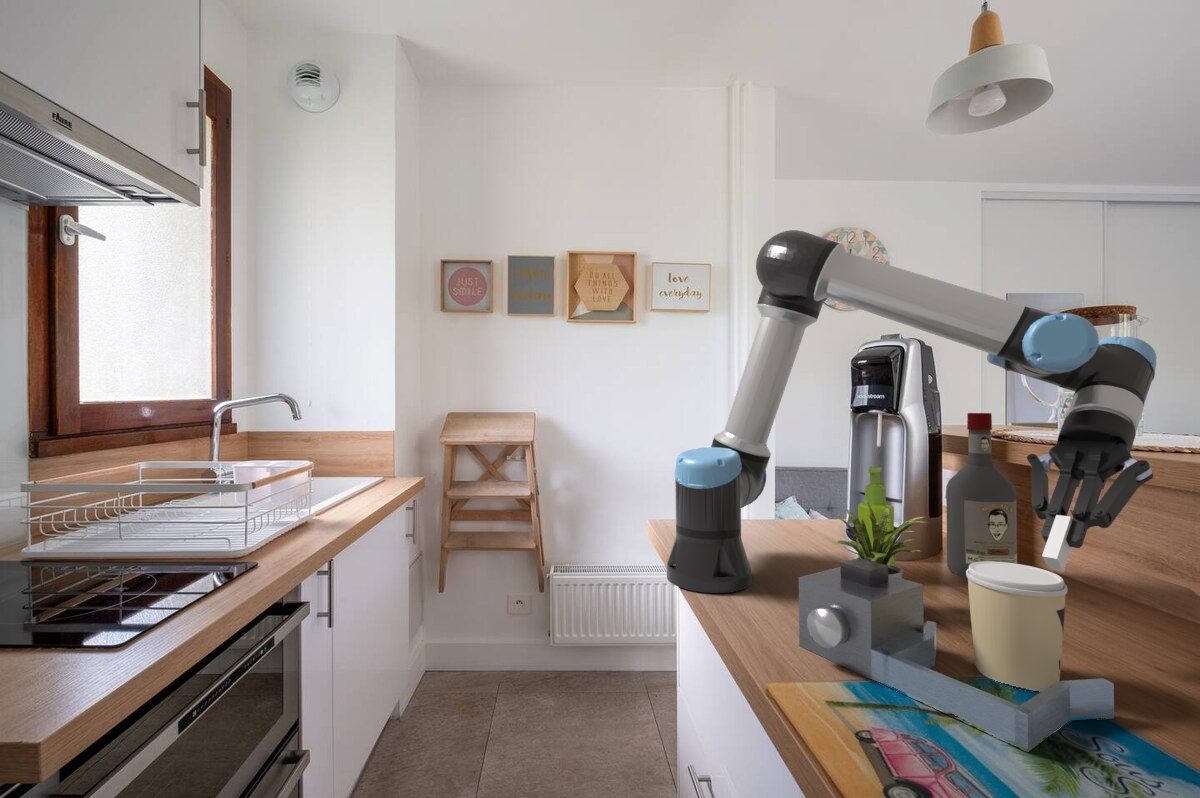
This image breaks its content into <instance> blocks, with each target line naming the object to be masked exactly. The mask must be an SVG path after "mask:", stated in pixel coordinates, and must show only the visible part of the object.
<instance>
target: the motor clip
mask: <svg viewBox="0 0 1200 798" xmlns="http://www.w3.org/2000/svg"><path fill="white" fill-rule="evenodd" d="M924 619H925V617H924V584H922V583H919V582H916V581H912V580H907V579H904V578H903V577H902V578H898V577H894V576H891V575H888V565H884V564H880V563H876V562H873V561H869V560H865V559H861V558H858V557H857V558H854V559H849V560H846V561H841V562H840V566H838V567H834V568H830V569H826V570H822V571H818V572H815V573H810V574H806V575H803V576H799V577H798V621H799V622H798V625H799V626H798V627H799V628H798V632H799V633H798V634H799V635H798V636H799V642H798V643H799V644H798V645H799V647H801V648H803V649H805V650H807V651H809V652H812V653H813V654H816V655H818V656H821V657H822V658H825V659H827V660H829V661H831V662H833V663H834V664H837V665H839V666H841V667H843V668H845V669H848V670H850V671H852V672H854V673H857V674H859V675H860V676H863V677H865V678H867V679H868V680H871V679H872V680H871V681H873V680H876V681H878V682H881V683H884V684H887V685H889V686H891V687H894V688H896V689H898V690H900V691H902V692H906V693H908V694H910V695H912V696H914V697H916V698H918V699H921V700H923V701H925V702H927V703H929V704H932V705H934V706H936V707H938V708H942V709H943V710H945V711H947V712H950V713H952V714H954V715H955V716H958V717H960V718H962V719H964V720H966V721H967V722H970V723H971V724H974V725H975V726H977V727H980V728H982V729H985V730H986V731H989V732H991V733H993V734H996V735H998V736H1000V737H1003V738H1006V739H1008V740H1010V741H1013V742H1016V743H1017V744H1020V745H1021V746H1023V747H1025V748H1026V749H1029V748H1031V747H1032V746H1034V745H1035V744H1036V743H1038V742H1039V741H1040V740H1041V739H1043V738H1045V737H1046V736H1048V735H1049V734H1051V733H1052V732H1054V731H1056V730H1057V729H1059V728H1060V727H1061V726H1062V725H1063V724H1065V723H1066V722H1067V721H1068V720H1070V719H1073V718H1074V719H1075V718H1085V717H1086V718H1101V719H1100V720H1109V719H1115V687H1114V686H1115V683H1114V682H1112V681H1110V680H1108V679H1105V678H1104V677H1103V678H1102V677H1101V678H1089V679H1088V678H1087V679H1084V678H1083V679H1071V680H1069V679H1068V680H1059V682H1056V683H1054V684H1053V685H1051V686H1050V687H1048V688H1047V689H1045V690H1044V691H1042V692H1038V693H1037V694H1036V695H1034V696H1033V697H1031V698H1029V699H1028V700H1027V701H1025V702H1023V703H1022V704H1020V705H1018V704H1016V703H1014V702H1012V701H1008V700H1006V699H1004V698H1002V697H999V696H997V695H994V694H992V693H989V692H987V691H984V690H982V689H979V688H977V687H974V686H972V685H970V684H968V683H965V682H962V681H960V680H958V679H955V678H952V677H950V676H948V675H945V674H943V673H940V672H937V670H934V669H931V668H933V667H935V666H936V665H935V664H936V658H937V622H935V621H930V620H926V625H925V624H924V623H925V622H924ZM924 625H925V630H924ZM878 682H877V683H878ZM1102 718H1103V719H1102ZM1104 718H1105V719H1104Z"/></svg>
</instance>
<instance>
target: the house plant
mask: <svg viewBox="0 0 1200 798" xmlns="http://www.w3.org/2000/svg"><path fill="white" fill-rule="evenodd" d="M867 503H868V502H867ZM887 504H888V503H886V507H885V509H884V513H883V515H882V516H881V518H880V520H879V522H878V524H877V521H876V518H875V515H874V513H873V511H872V508H871V506H870V505H869V504H868V507H869V511H870V515H867V516H869V517H870V519H871V522H872V532H873V538H874V541H873V549H872V546H871V542H870V538H869V535H868V532H867V529H866V525H865V523H864V521H863V519H862V521H861V523H860V521H859V519H858V516H857V515H855V514H854V513H852V512H851V510H849V509H847V508H845V507H843V509H844V510H845V512H846V513H847V515H848V516H849V518H850V521H851V523H852V524H853V526H854V527H852V526H851V525H850V524H849V523H848V522H847V521H846V520H845V519H843V518H841V517H840V516H838V518H839V519H840V520H841V521H842V522H843V523H844V524H845V525H846V526H847V528H848V529H849V530H850V531H851V532H852V533H853V534H854V536H855V538H856V540H855V541H853V540H847V541H846V540H837V541H835V542H834V544H838V545H839V544H840V545H845V546H848V547H850V548H853V549H854V550H855V551H856V553H857V555H858V554H859V555H860V557H861V559H865V560H869V561H873V562H876V563H880V564H884V565H888V575H891V576H894V577H898V578H902V579H903V569H902V568H900V567H899V566H897V565H895V564H894V565H892V564H888V562H889V560H890V559H891V557H892V556H893V555H894V556H895V555H896V554H897V553H900V552H907V553H911V554H912V553H913V554H915V555H916V556H919V557H920V558H921V559H923V558H922V556H921V555H920V554H919V553H918V552H922V550H921V549H914V550H913V549H912V548H911V547H909V546H906V545H905V544H906V543H907V542H910V541H915V540H916V539H915V538H914V539H913V538H911V539H910V538H909V539H904V540H902V541H897V540H898V539H899V538H900V536H901V535H902V534H903V533H906V532H907V533H909V532H910V533H914V531H913V530H910V529H911V526H912V525H919V523H922V524H923V523H928V524H929V523H930V522H928V521H923V520H919V519H923V518H926V517H928V516H918V517H913V518H910V519H907V520H906V521H904V522H903V523H901V524H900V525H899V526H897V527H896V528H894V530H891V531H888V532H886V531H887V528H888V526H889V523H890V521H889V514H890V511H889V510H888V506H887ZM891 533H892V534H891ZM889 534H891V536H890V537H889V538H888V540H887V541H885V542H884V538H885V536H886V535H889ZM893 538H894V539H893ZM892 540H893V541H892ZM895 543H896V544H895ZM889 545H890V546H889ZM893 545H894V546H893ZM888 546H889V547H888ZM887 547H888V549H887ZM907 548H909V549H907ZM886 549H887V550H886ZM885 551H886V552H885ZM884 553H885V554H884ZM907 553H905V554H904V555H903V556H901V558H903V557H904V556H905V555H907ZM899 560H900V558H898V559H897V560H894V563H896V562H897V561H899ZM923 561H924V560H923Z"/></svg>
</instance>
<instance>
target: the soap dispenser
mask: <svg viewBox="0 0 1200 798" xmlns="http://www.w3.org/2000/svg"><path fill="white" fill-rule="evenodd" d="M881 472H883V467H881V466H869V468H868V473H869V483H868V484H866V485H864V502H859V503H858V504H857V518H858V519H859V521H860V523H861V521H862V519H863V521H864V523H865V525H866V529H867V532H868V535H869V538H870V542H871V546H872V549H873V541H874V538H873V532H872V522H871V519H870V517H869V516H867V515H870V511H869V507H868V504H869V505H870V506H871V508H872V511H873V513H874V515H875V518H876V521H877V524H878V522H879V520H880V518H881V516H882V515H883V513H884V509H885V507H886V504H887V506H888V510H889V511H890V514H889V521H890V523H889V526H888V528H887V531H886V532H888V531H891V530H895V526H894V525H895V523H894V522H895V520H894V518H895V516H894V515H895V514H894V513H895V512H894V511H895V510H894V509H895V508H894V506H893V505H891V504H888V503H887V502H886V501H887V498H886V496H887V493H886V486H884V485H883V484H881ZM867 502H868V503H867ZM891 534H892V533H891ZM891 534H889V535H886V536H885V538H884V542H885V541H887V540H888V538H889V537H890V536H891ZM894 538H895V537H894ZM894 538H893V539H894ZM892 541H893V540H892ZM894 545H895V544H894ZM894 545H893V546H894ZM889 546H890V545H889ZM889 546H888V547H889ZM888 547H887V549H888ZM887 549H886V550H887ZM885 552H886V551H885ZM884 554H885V553H884ZM857 558H861V557H860V555H859V554H858V553H857ZM888 564H892V565H894V566H895V554H894V555H893V556H892V557H891V559H890V560H889V562H888Z"/></svg>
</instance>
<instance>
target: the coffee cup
mask: <svg viewBox="0 0 1200 798" xmlns="http://www.w3.org/2000/svg"><path fill="white" fill-rule="evenodd" d="M966 576H967V578H968V580H967V588H968V600H969V611H970V623H971V633H972V642H973V643H972V644H973V655H974V662H975V663H974V664H975V667H976V669H977V671H978V672H980V673H981V674H982V675H983V676H985V678H989V679H990V680H991V679H992V681H994V680H995V681H994V682H996V681H998V682H1001V683H1005V684H1009V685H1012V686H1016V687H1021V688H1026V689H1029V690H1033V691H1039V692H1038V693H1040V692H1042V691H1044V690H1045V689H1047V688H1048V687H1050V686H1051V685H1053V684H1054V683H1056V682H1059V681H1060V678H1061V670H1062V668H1061V667H1062V656H1063V642H1064V640H1063V639H1064V629H1065V628H1064V627H1065V626H1064V625H1065V614H1066V595H1067V593H1068V586H1067V584H1066V583H1065V581H1064V579H1063V577H1062V576H1060V575H1058V574H1056V573H1054V572H1052V571H1049V570H1046V569H1042V568H1039V567H1035V566H1031V565H1026V564H1020V563H1017V564H1015V563H1007V562H994V561H983V562H975V563H972V564H970V565H969V569H967V570H966ZM998 682H997V683H998ZM1001 683H1000V684H1001ZM1033 691H1032V692H1033Z"/></svg>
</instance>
